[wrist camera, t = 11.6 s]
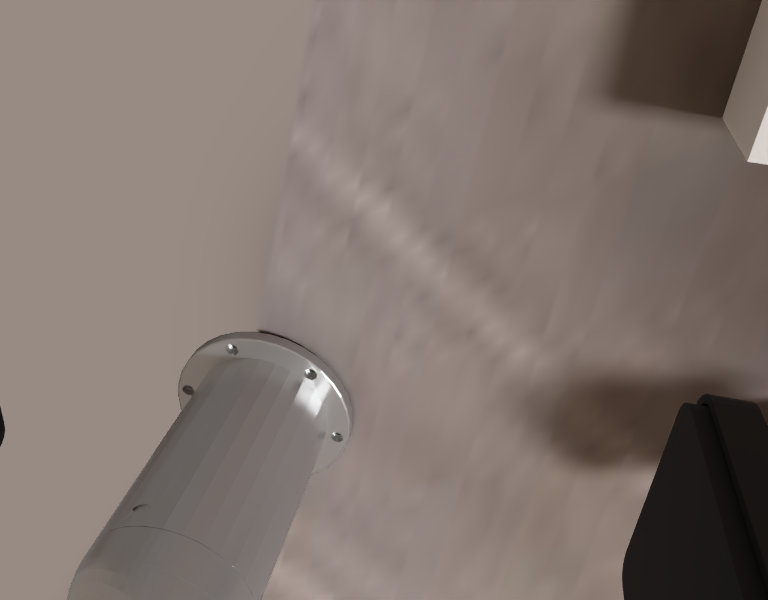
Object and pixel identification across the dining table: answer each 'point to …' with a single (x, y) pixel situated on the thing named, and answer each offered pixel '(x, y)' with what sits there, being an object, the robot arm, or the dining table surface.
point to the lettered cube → (751, 95)
